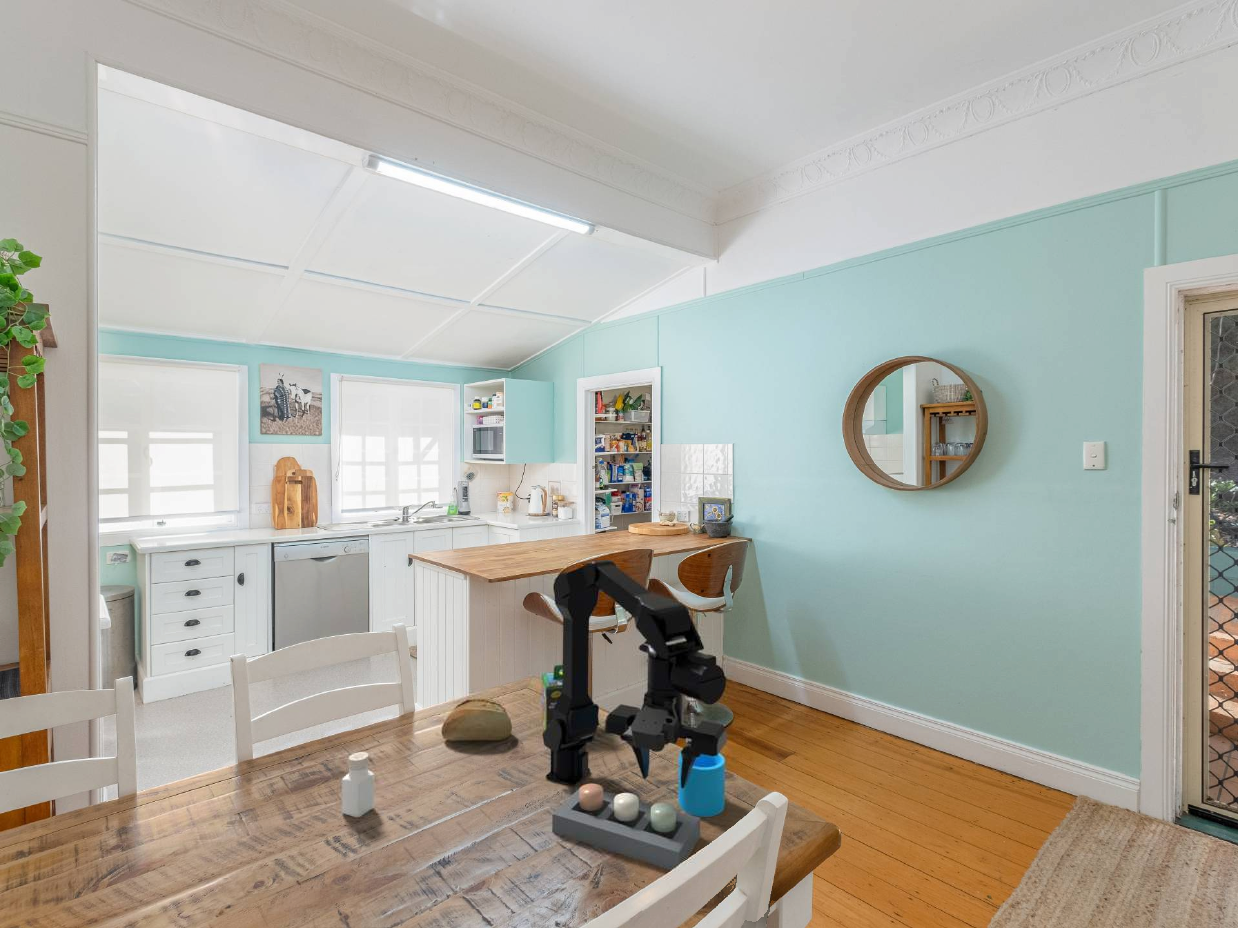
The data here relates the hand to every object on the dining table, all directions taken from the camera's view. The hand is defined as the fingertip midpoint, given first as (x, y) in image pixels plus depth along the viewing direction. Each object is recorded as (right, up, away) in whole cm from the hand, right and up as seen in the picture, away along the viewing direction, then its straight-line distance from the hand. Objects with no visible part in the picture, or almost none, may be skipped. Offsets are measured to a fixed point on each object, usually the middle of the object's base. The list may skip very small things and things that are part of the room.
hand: (664, 782), depth 99 cm
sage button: (0, -7, 0) cm, 7 cm away
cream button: (-6, -7, +3) cm, 9 cm away
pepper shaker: (-52, -10, +9) cm, 54 cm away
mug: (+7, -10, +14) cm, 19 cm away
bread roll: (-38, -10, +37) cm, 54 cm away
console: (-6, -10, +3) cm, 12 cm away
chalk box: (-20, -10, +43) cm, 48 cm away
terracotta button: (-12, -6, +6) cm, 15 cm away
